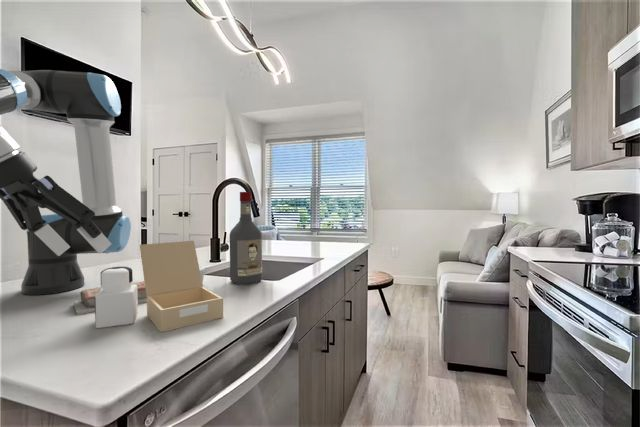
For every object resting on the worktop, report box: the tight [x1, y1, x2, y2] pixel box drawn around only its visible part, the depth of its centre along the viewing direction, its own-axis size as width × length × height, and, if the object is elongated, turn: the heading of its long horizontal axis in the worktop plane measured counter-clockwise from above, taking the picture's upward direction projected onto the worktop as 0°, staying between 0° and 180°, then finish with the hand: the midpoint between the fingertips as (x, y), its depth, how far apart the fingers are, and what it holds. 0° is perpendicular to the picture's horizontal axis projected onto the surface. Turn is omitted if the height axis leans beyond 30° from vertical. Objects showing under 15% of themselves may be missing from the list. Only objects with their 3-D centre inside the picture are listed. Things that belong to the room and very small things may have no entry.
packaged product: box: [73, 281, 147, 316], centre depth 86 cm, size 18×5×10 cm
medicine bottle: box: [94, 266, 139, 329], centre depth 73 cm, size 7×7×12 cm
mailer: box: [139, 240, 224, 333], centre depth 78 cm, size 20×13×16 cm, turn 39°
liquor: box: [229, 191, 263, 286], centre depth 109 cm, size 9×9×30 cm
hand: (84, 250), depth 67 cm, fingers open, 13 cm apart
